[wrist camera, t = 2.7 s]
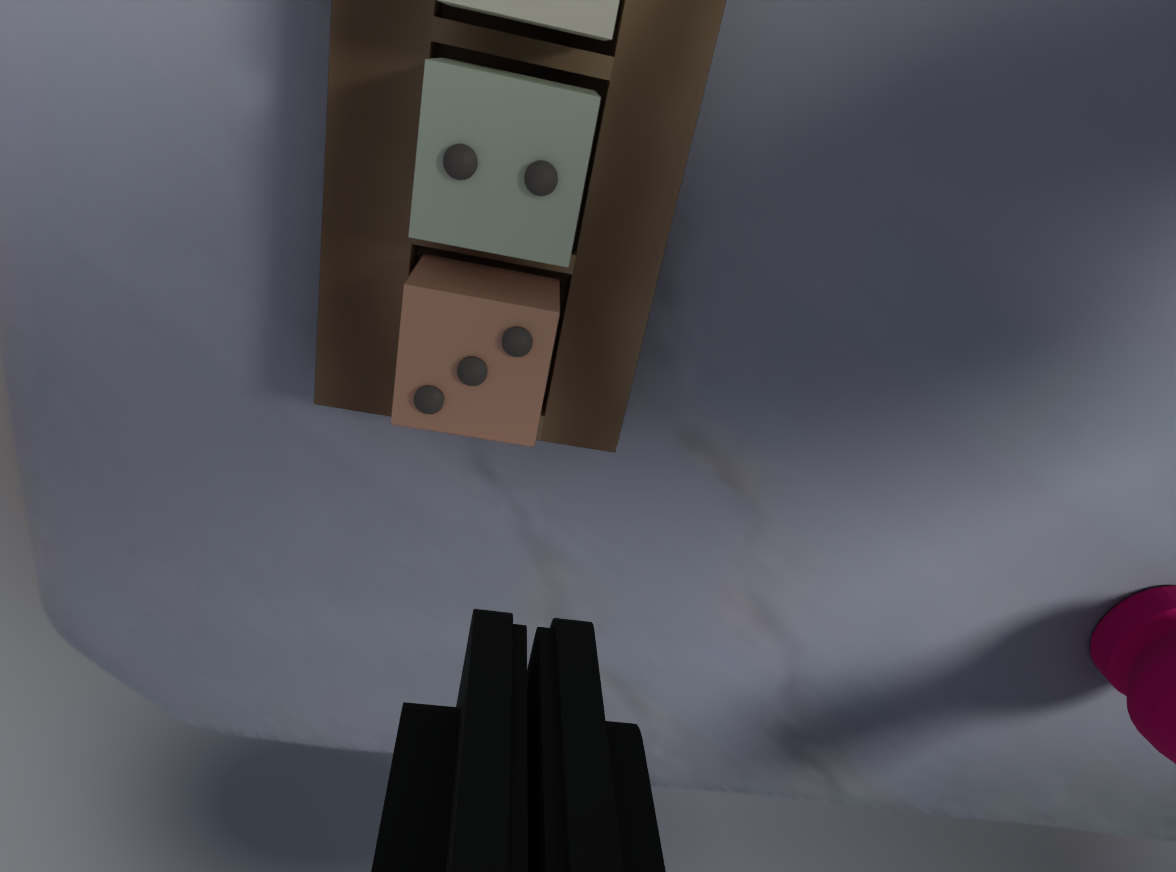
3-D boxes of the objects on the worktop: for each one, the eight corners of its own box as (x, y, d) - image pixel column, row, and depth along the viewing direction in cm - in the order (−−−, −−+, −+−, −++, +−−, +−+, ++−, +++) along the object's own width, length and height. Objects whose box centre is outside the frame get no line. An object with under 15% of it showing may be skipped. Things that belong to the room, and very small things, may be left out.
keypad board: (753, -164, 24) (771, -183, 22) (611, 428, 33) (615, 452, 31) (363, -269, 22) (345, -299, 20) (329, 381, 32) (314, 403, 30)
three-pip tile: (559, 279, 28) (559, 314, 24) (536, 400, 30) (534, 449, 27) (423, 254, 28) (402, 285, 24) (410, 379, 30) (389, 426, 26)
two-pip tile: (594, 90, 25) (601, 97, 22) (567, 239, 28) (568, 269, 24) (444, 57, 25) (424, 59, 21) (428, 211, 27) (407, 238, 23)
